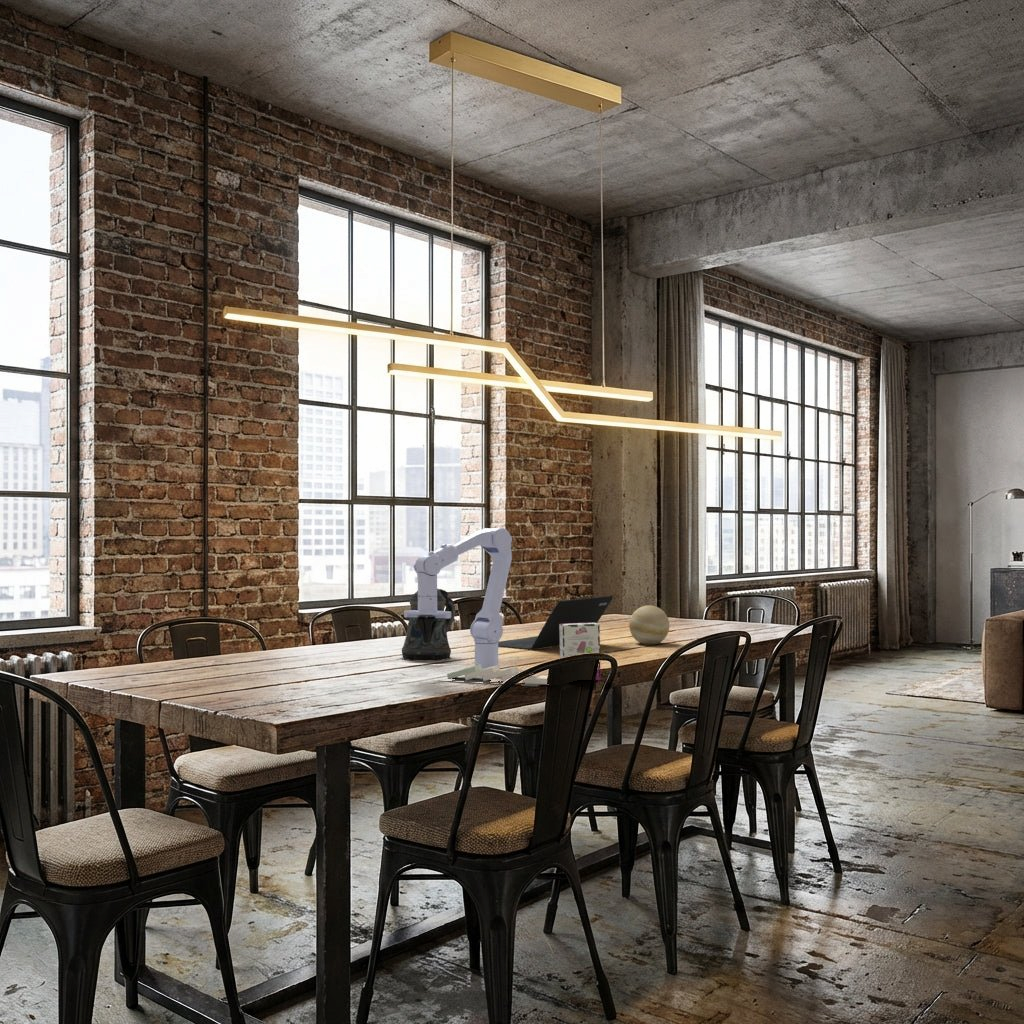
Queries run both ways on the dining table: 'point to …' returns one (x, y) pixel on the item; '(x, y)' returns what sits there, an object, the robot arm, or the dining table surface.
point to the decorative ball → (649, 625)
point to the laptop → (562, 622)
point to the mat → (488, 681)
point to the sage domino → (464, 671)
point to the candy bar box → (580, 640)
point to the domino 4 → (536, 680)
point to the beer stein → (439, 642)
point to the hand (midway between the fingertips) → (427, 642)
